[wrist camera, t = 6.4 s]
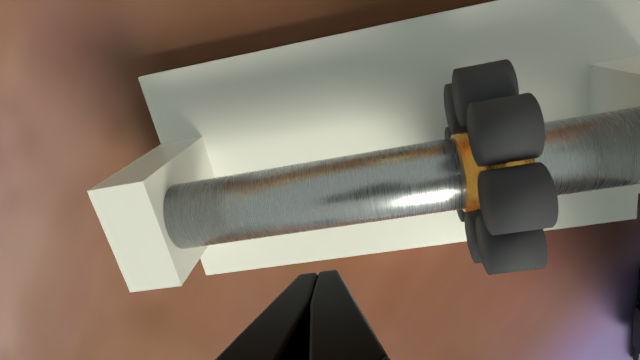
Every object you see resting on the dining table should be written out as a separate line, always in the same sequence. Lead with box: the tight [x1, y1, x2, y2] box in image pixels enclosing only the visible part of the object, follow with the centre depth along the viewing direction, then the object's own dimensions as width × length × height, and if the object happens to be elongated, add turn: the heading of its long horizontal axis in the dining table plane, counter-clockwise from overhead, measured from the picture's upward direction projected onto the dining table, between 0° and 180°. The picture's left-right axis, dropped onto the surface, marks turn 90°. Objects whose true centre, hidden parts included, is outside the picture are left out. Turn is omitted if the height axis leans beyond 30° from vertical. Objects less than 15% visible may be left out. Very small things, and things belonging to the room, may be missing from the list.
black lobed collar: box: [444, 59, 559, 275], centre depth 14 cm, size 2×7×7 cm, turn 11°
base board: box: [87, 0, 640, 292], centre depth 16 cm, size 20×10×6 cm, turn 102°
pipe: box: [163, 106, 640, 249], centre depth 14 cm, size 18×3×3 cm, turn 102°
